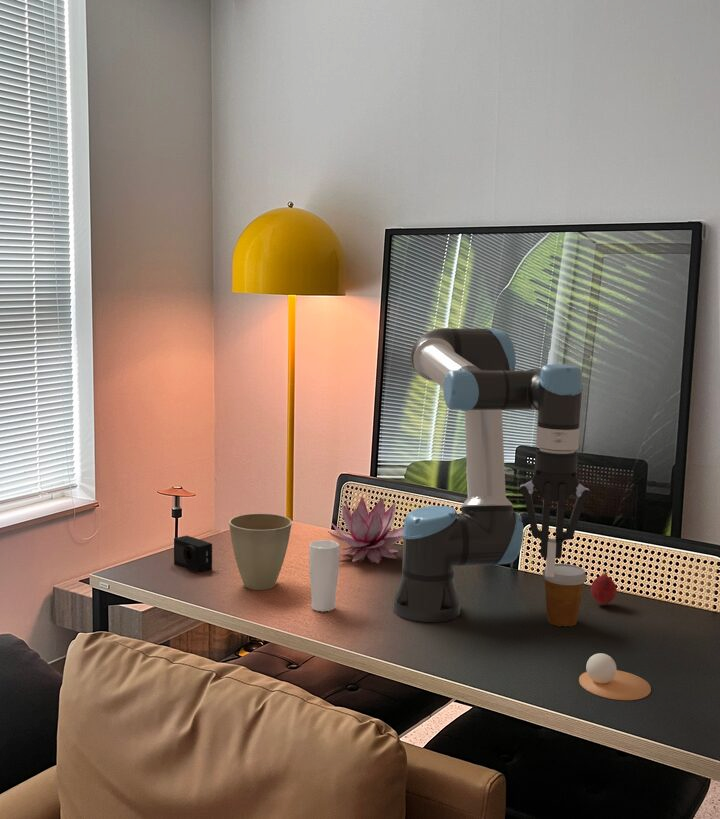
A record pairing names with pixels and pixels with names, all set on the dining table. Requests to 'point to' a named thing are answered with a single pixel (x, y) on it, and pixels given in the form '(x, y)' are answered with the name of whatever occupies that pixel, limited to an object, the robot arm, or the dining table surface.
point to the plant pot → (260, 547)
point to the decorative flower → (369, 531)
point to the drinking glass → (323, 574)
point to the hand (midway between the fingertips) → (549, 574)
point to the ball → (601, 668)
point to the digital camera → (193, 554)
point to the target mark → (617, 686)
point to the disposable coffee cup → (564, 594)
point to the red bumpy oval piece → (603, 589)
